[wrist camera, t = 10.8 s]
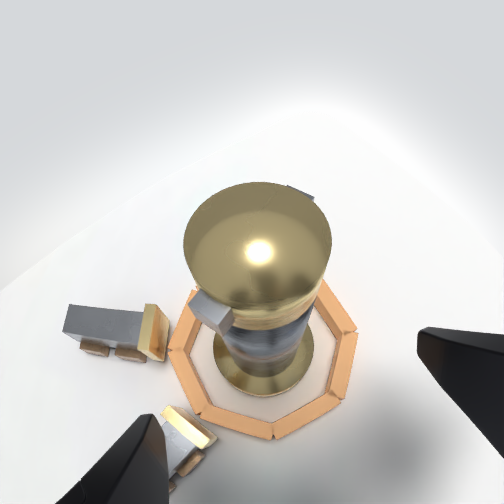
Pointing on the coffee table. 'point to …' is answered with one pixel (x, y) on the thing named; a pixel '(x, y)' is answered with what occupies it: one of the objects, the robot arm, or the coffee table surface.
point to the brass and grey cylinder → (258, 281)
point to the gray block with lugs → (184, 441)
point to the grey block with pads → (119, 331)
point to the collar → (333, 393)
